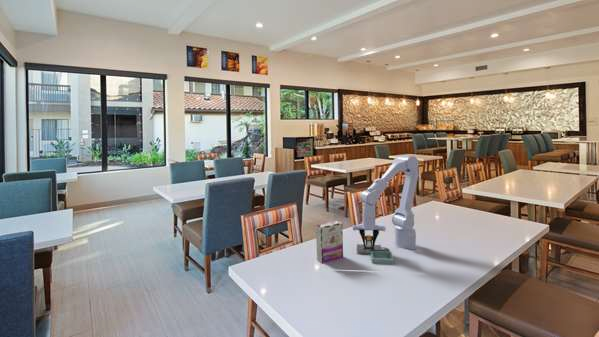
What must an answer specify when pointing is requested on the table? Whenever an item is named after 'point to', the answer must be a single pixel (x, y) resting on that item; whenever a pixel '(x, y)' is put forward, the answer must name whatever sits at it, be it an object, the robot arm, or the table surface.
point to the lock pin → (368, 241)
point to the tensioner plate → (362, 249)
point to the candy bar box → (329, 241)
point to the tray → (382, 261)
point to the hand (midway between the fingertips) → (368, 245)
